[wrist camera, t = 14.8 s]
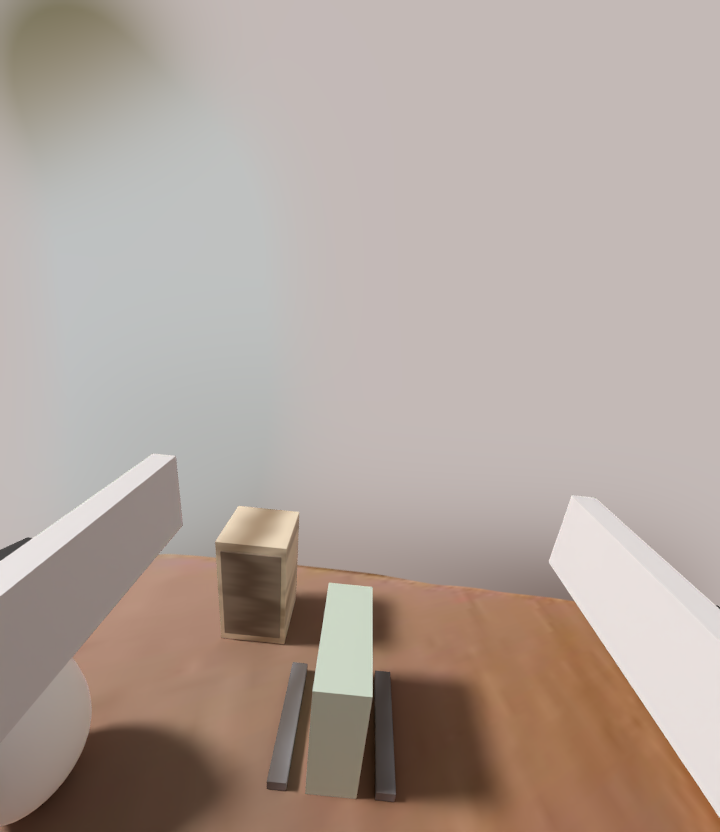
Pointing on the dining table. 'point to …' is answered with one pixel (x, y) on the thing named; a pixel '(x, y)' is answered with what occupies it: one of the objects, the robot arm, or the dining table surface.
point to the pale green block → (341, 693)
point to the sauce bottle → (44, 744)
